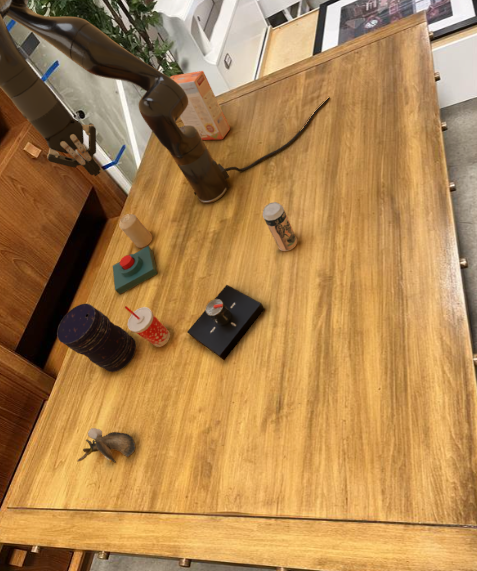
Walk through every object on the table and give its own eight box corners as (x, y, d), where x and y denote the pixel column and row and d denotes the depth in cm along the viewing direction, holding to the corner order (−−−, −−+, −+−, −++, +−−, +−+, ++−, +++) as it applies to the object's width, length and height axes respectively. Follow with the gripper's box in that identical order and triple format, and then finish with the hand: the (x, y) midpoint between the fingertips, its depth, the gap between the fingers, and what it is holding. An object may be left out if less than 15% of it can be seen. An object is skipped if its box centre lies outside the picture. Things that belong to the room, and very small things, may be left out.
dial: (213, 326, 83) (203, 315, 80) (215, 311, 86) (206, 299, 82) (230, 324, 82) (221, 313, 78) (232, 308, 84) (223, 296, 81)
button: (134, 256, 107) (130, 252, 106) (135, 265, 105) (131, 261, 103) (122, 263, 107) (119, 259, 106) (124, 271, 105) (120, 267, 104)
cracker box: (231, 128, 133) (203, 69, 117) (222, 140, 130) (193, 81, 115) (201, 129, 141) (171, 74, 125) (192, 140, 138) (161, 85, 123)
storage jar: (105, 380, 90) (58, 352, 79) (98, 349, 97) (54, 320, 86) (140, 356, 90) (98, 326, 79) (131, 327, 97) (92, 295, 86)
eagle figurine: (87, 477, 76) (119, 474, 72) (68, 449, 75) (99, 444, 70) (111, 447, 83) (142, 443, 78) (94, 421, 81) (124, 415, 77)
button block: (152, 250, 111) (144, 241, 108) (157, 273, 105) (149, 264, 102) (117, 270, 113) (108, 261, 110) (119, 294, 106) (110, 286, 103)
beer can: (292, 253, 90) (276, 218, 81) (275, 250, 92) (257, 216, 84) (301, 237, 92) (286, 201, 83) (283, 235, 94) (267, 199, 85)
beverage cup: (177, 337, 89) (142, 305, 79) (156, 355, 89) (118, 325, 78) (166, 321, 93) (132, 289, 83) (146, 338, 93) (109, 308, 82)
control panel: (230, 290, 91) (226, 284, 89) (265, 309, 84) (261, 302, 82) (192, 337, 87) (186, 331, 86) (224, 360, 81) (219, 355, 79)
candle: (149, 246, 113) (129, 223, 105) (134, 249, 115) (113, 226, 108) (154, 232, 116) (135, 208, 108) (139, 235, 118) (119, 212, 111)
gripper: (66, 84, 81) (116, 151, 94) (14, 120, 81) (72, 182, 94) (71, 93, 76) (124, 163, 89) (15, 132, 76) (76, 196, 89)
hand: (97, 173), depth 92 cm, fingers closed
